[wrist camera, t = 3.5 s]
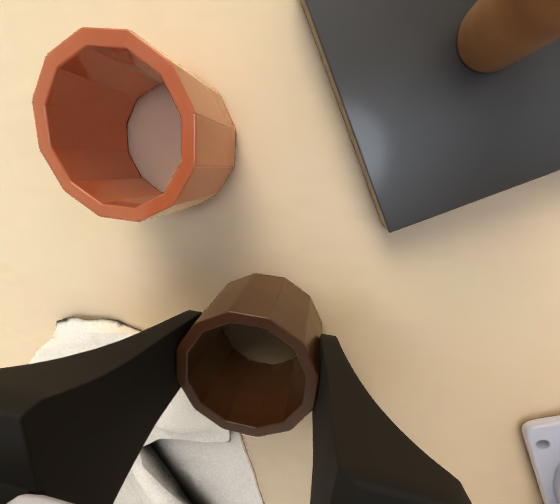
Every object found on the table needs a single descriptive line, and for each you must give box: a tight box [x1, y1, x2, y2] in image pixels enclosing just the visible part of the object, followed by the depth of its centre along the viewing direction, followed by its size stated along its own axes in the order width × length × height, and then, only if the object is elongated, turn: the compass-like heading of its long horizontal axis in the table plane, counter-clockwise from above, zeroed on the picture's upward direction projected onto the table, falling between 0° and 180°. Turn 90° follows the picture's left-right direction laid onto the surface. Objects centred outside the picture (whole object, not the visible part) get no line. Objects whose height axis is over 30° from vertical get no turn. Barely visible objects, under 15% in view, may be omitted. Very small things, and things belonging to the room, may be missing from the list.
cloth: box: [28, 317, 264, 504], centre depth 17 cm, size 20×22×2 cm
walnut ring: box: [176, 274, 322, 437], centre depth 12 cm, size 5×5×4 cm
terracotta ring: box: [32, 27, 236, 222], centre depth 10 cm, size 5×5×4 cm
